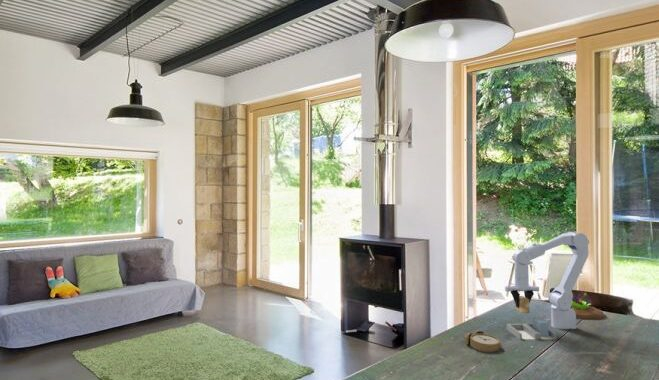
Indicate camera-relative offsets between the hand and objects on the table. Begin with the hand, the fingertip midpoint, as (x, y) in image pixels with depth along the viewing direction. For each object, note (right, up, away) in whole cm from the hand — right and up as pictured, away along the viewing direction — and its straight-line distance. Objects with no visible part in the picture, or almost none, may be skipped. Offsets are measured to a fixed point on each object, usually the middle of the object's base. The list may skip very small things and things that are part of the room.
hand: (522, 307), depth 194 cm
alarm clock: (-26, -10, -22) cm, 35 cm away
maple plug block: (0, -2, 0) cm, 2 cm away
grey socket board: (-1, -9, -11) cm, 14 cm away
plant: (+39, -10, +22) cm, 46 cm away
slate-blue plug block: (+3, -8, -11) cm, 14 cm away
